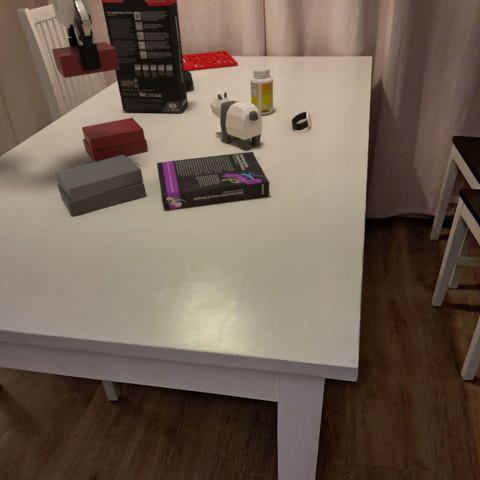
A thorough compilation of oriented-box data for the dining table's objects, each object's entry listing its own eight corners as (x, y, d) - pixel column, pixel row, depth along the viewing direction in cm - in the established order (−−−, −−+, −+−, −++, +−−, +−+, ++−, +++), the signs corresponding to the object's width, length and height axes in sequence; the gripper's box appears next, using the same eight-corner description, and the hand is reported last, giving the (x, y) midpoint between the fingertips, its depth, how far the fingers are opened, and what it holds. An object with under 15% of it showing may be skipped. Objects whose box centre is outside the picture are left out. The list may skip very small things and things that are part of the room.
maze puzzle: (237, 65, 158) (237, 62, 157) (179, 71, 155) (179, 69, 155) (226, 52, 173) (226, 50, 172) (173, 58, 170) (172, 56, 169)
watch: (309, 133, 108) (310, 116, 105) (289, 132, 108) (289, 116, 106) (312, 121, 113) (313, 106, 111) (293, 121, 114) (293, 105, 112)
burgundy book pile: (96, 163, 100) (90, 140, 97) (85, 149, 106) (79, 127, 103) (149, 151, 104) (145, 128, 101) (135, 138, 110) (131, 116, 107)
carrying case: (158, 81, 147) (158, 94, 136) (156, 70, 145) (156, 83, 134) (191, 78, 148) (194, 91, 137) (190, 67, 146) (193, 80, 135)
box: (163, 213, 83) (270, 197, 85) (160, 195, 81) (270, 179, 82) (159, 179, 93) (254, 165, 95) (156, 162, 91) (254, 148, 93)
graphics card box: (190, 106, 127) (176, -17, 109) (183, 114, 122) (168, -13, 104) (131, 105, 130) (108, -14, 112) (122, 113, 125) (96, -10, 107)
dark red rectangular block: (64, 78, 82) (59, 56, 80) (57, 69, 87) (51, 49, 84) (119, 69, 85) (115, 48, 83) (109, 61, 90) (105, 41, 88)
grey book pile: (72, 216, 82) (63, 190, 79) (60, 196, 89) (52, 171, 86) (147, 196, 87) (142, 170, 84) (131, 178, 94) (126, 153, 90)
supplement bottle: (275, 109, 122) (275, 66, 115) (269, 116, 118) (269, 71, 111) (255, 108, 123) (254, 65, 116) (248, 115, 119) (247, 71, 112)
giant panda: (265, 145, 103) (265, 99, 97) (247, 152, 101) (245, 106, 94) (223, 130, 112) (220, 87, 106) (205, 136, 109) (201, 92, 103)
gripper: (26, -59, 78) (57, 59, 90) (43, -56, 67) (77, 79, 78) (70, -62, 81) (95, 53, 93) (95, -60, 69) (120, 72, 81)
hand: (87, 64), depth 85 cm, fingers closed on dark red rectangular block, 7 cm apart
